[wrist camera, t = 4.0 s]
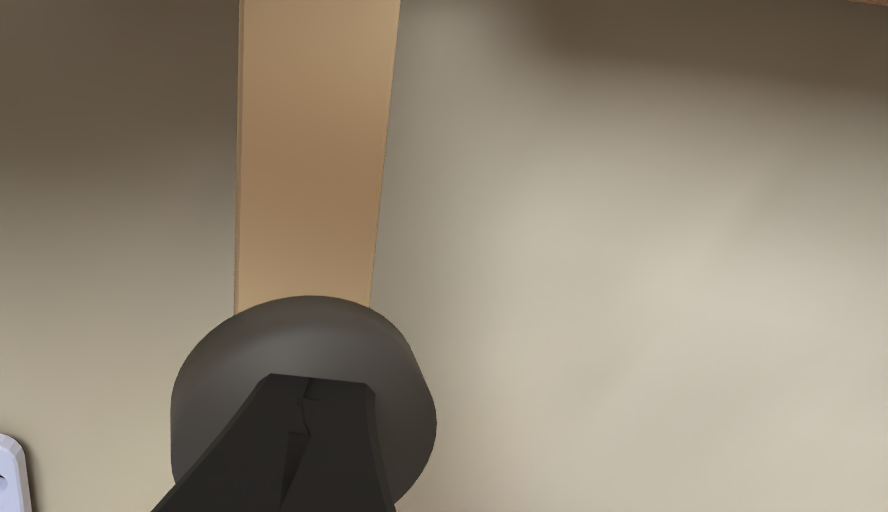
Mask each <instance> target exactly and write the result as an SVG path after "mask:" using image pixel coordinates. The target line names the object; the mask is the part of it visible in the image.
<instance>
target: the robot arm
mask: <svg viewBox="0 0 888 512" xmlns="http://www.w3.org/2000/svg"><path fill="white" fill-rule="evenodd" d="M375 395H376V394H375V393H374V392H373V391H372V389H371V388H370V387H369V386H368V385H367V384H366V383H359V382H349V381H340V380H331V379H321V378H312V377H302V376H293V375H283V374H274V373H270V374H269V375H267V376H266V377H264V378H263V379H262V380H260V381H259V382H258V383H257V385H256V386H255V388H254V389H253V391H252V392H251V393H250V395H249V396H248V398H247V399H246V400H245V402H244V403H243V404H242V406H241V407H240V408H239V410H238V411H237V412H236V413H235V415H234V416H233V417H232V419H231V420H230V421H229V422H228V424H227V425H226V426H225V427H224V429H223V430H222V431H221V432H220V434H219V435H218V436H217V437H216V438H215V440H214V441H213V442H212V443H211V444H210V446H209V447H208V448H207V449H206V450H205V452H204V453H203V454H202V455H201V456H200V457H199V459H198V460H197V461H196V462H195V463H194V464H193V465H192V467H191V468H190V469H189V470H188V471H187V472H186V473H185V474H184V475H183V476H182V478H181V479H180V480H179V481H178V482H177V483H176V484H175V485H174V486H173V488H172V489H171V490H170V491H169V492H168V493H167V494H166V495H165V496H164V498H163V499H162V500H161V501H160V502H159V503H158V504H157V505H156V506H155V508H154V509H153V510H152V511H151V512H396V509H395V506H394V503H393V500H392V496H391V492H390V488H389V485H388V481H387V477H386V472H385V468H384V463H383V459H382V454H381V449H380V444H379V438H378V432H377V424H376V413H375ZM0 475H2V476H3V477H4V478H5V479H4V478H1V477H0V512H32V508H31V500H30V493H29V485H28V477H27V469H26V462H25V454H24V452H23V449H22V447H21V446H20V445H19V443H18V442H17V441H16V440H15V439H13V438H11V437H9V436H8V435H4V434H0Z"/></svg>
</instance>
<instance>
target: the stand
mask: <svg viewBox="0 0 888 512" xmlns="http://www.w3.org/2000/svg"><path fill="white" fill-rule="evenodd" d="M847 1H854V2H861V3H868V4H876V5H883V6H888V0H847Z"/></svg>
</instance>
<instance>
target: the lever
mask: <svg viewBox="0 0 888 512" xmlns="http://www.w3.org/2000/svg"><path fill="white" fill-rule="evenodd" d="M400 2H401V0H239V44H238V104H237V163H236V222H235V281H234V316H232V317H231V318H229V319H227V320H226V321H224V322H222V323H221V324H220V325H218V326H217V327H216V328H214V329H213V330H212V331H210V332H209V333H208V334H207V335H206V336H205V337H204V338H203V339H202V340H201V341H200V342H199V343H198V344H197V345H196V346H195V348H194V349H193V350H192V351H191V353H190V354H189V355H188V357H187V358H186V360H185V362H184V363H183V365H182V367H181V369H180V371H179V373H178V376H177V378H176V381H175V383H174V387H173V392H172V396H171V465H172V473H173V477H174V480H175V483H177V482H178V481H179V480H180V479H181V478H182V476H183V475H184V474H185V473H186V472H187V471H188V470H189V469H190V468H191V467H192V465H193V464H194V463H195V462H196V461H197V460H198V459H199V457H200V456H201V455H202V454H203V453H204V452H205V450H206V449H207V448H208V447H209V446H210V444H211V443H212V442H213V441H214V440H215V438H216V437H217V436H218V435H219V434H220V432H221V431H222V430H223V429H224V427H225V426H226V425H227V424H228V422H229V421H230V420H231V419H232V417H233V416H234V415H235V413H236V412H237V411H238V410H239V408H240V407H241V406H242V404H243V403H244V402H245V400H246V399H247V398H248V396H249V395H250V393H251V392H252V391H253V389H254V388H255V386H256V385H257V383H258V382H259V381H260V380H262V379H263V378H264V377H266V376H267V375H269V374H270V373H274V374H283V375H293V376H302V377H312V378H321V379H331V380H340V381H349V382H359V383H366V384H367V385H368V386H369V387H370V388H371V389H372V391H373V392H374V393H375V394H376V395H375V413H376V424H377V432H378V438H379V444H380V449H381V454H382V459H383V463H384V468H385V472H386V477H387V481H388V485H389V488H390V492H391V496H392V500H393V503H394V504H395V503H396V502H397V501H398V500H399V499H400V498H401V497H402V496H403V495H404V494H405V493H406V492H407V491H408V490H409V489H410V488H411V487H412V485H413V484H414V483H415V481H416V480H417V479H418V477H419V476H420V474H421V473H422V471H423V469H424V467H425V466H426V464H427V462H428V460H429V457H430V455H431V452H432V449H433V446H434V441H435V437H436V426H437V420H436V410H435V406H434V402H433V398H432V396H431V394H430V391H429V389H428V387H427V384H426V382H425V380H424V378H423V375H422V373H421V371H420V368H419V366H418V364H417V361H416V359H415V357H414V355H413V352H412V350H411V348H410V346H409V344H408V342H407V341H406V339H405V338H404V336H403V335H402V333H401V332H400V331H399V330H398V329H397V328H396V327H395V326H394V325H393V324H392V323H391V322H390V321H388V320H387V319H386V318H385V317H383V316H382V315H381V314H379V313H377V312H375V311H374V310H372V309H370V308H369V303H370V293H371V284H372V274H373V264H374V254H375V245H376V235H377V225H378V216H379V206H380V196H381V186H382V177H383V167H384V157H385V148H386V138H387V128H388V118H389V109H390V99H391V89H392V79H393V70H394V60H395V50H396V41H397V31H398V21H399V11H400Z"/></svg>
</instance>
